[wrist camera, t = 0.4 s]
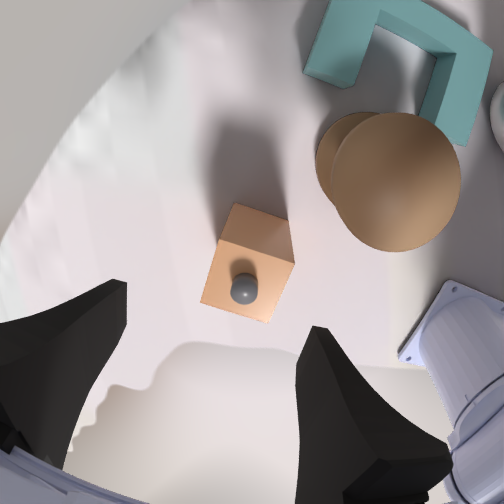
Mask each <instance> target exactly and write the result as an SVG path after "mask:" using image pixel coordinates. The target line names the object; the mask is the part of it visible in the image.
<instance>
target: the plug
mask: <svg viewBox="0 0 504 504" xmlns="http://www.w3.org/2000/svg"><path fill="white" fill-rule="evenodd" d="M294 265H295V261H294V254H293V248H292V241H291V234H290V228H289V221H288V220H285V219H282V218H279V217H276V216H273V215H270V214H267V213H264V212H261V211H259V210H256V209H253V208H250V207H247V206H243V205H240V204H237V203H234V204H233V207H232V209H231V211H230V214H229V216H228V219H227V221H226V224H225V226H224V229H223V231H222V234H221V236H220V238H219V242H218V245H217V248H216V251H215V254H214V258H213V261H212V264H211V267H210V271H209V274H208V277H207V281H206V284H205V287H204V291H203V294H202V297H201V301H200V303H203V304H206V305H209V306H212V307H216V308H219V309H222V310H225V311H228V312H231V313H235V314H238V315H241V316H244V317H248V318H251V319H254V320H258V321H261V322H265V323H269V321H270V318H271V316H272V314H273V312H274V310H275V307H276V305H277V303H278V301H279V299H280V296H281V294H282V292H283V290H284V287H285V285H286V283H287V281H288V278H289V276H290V274H291V271H292V269H293V267H294Z"/></svg>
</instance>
